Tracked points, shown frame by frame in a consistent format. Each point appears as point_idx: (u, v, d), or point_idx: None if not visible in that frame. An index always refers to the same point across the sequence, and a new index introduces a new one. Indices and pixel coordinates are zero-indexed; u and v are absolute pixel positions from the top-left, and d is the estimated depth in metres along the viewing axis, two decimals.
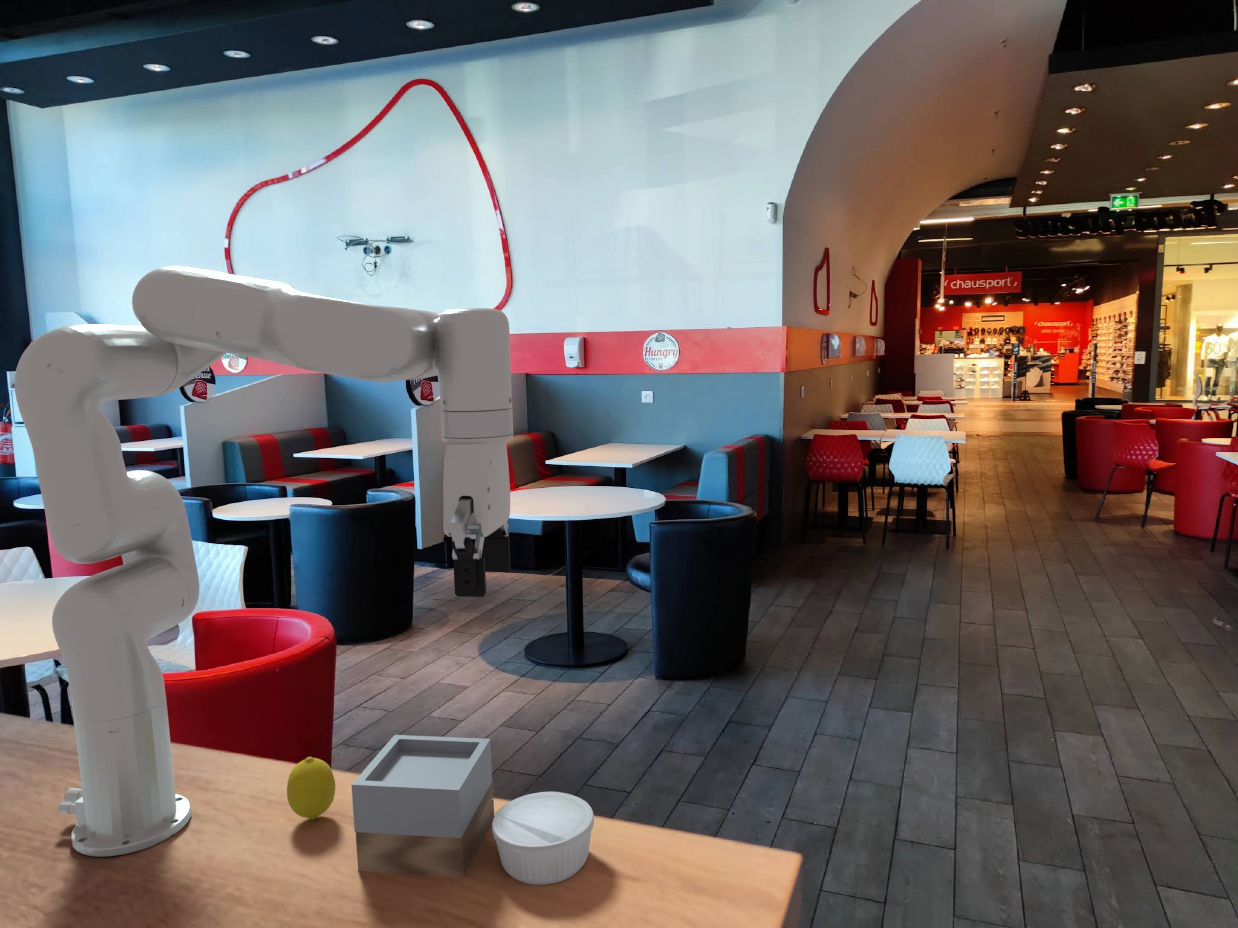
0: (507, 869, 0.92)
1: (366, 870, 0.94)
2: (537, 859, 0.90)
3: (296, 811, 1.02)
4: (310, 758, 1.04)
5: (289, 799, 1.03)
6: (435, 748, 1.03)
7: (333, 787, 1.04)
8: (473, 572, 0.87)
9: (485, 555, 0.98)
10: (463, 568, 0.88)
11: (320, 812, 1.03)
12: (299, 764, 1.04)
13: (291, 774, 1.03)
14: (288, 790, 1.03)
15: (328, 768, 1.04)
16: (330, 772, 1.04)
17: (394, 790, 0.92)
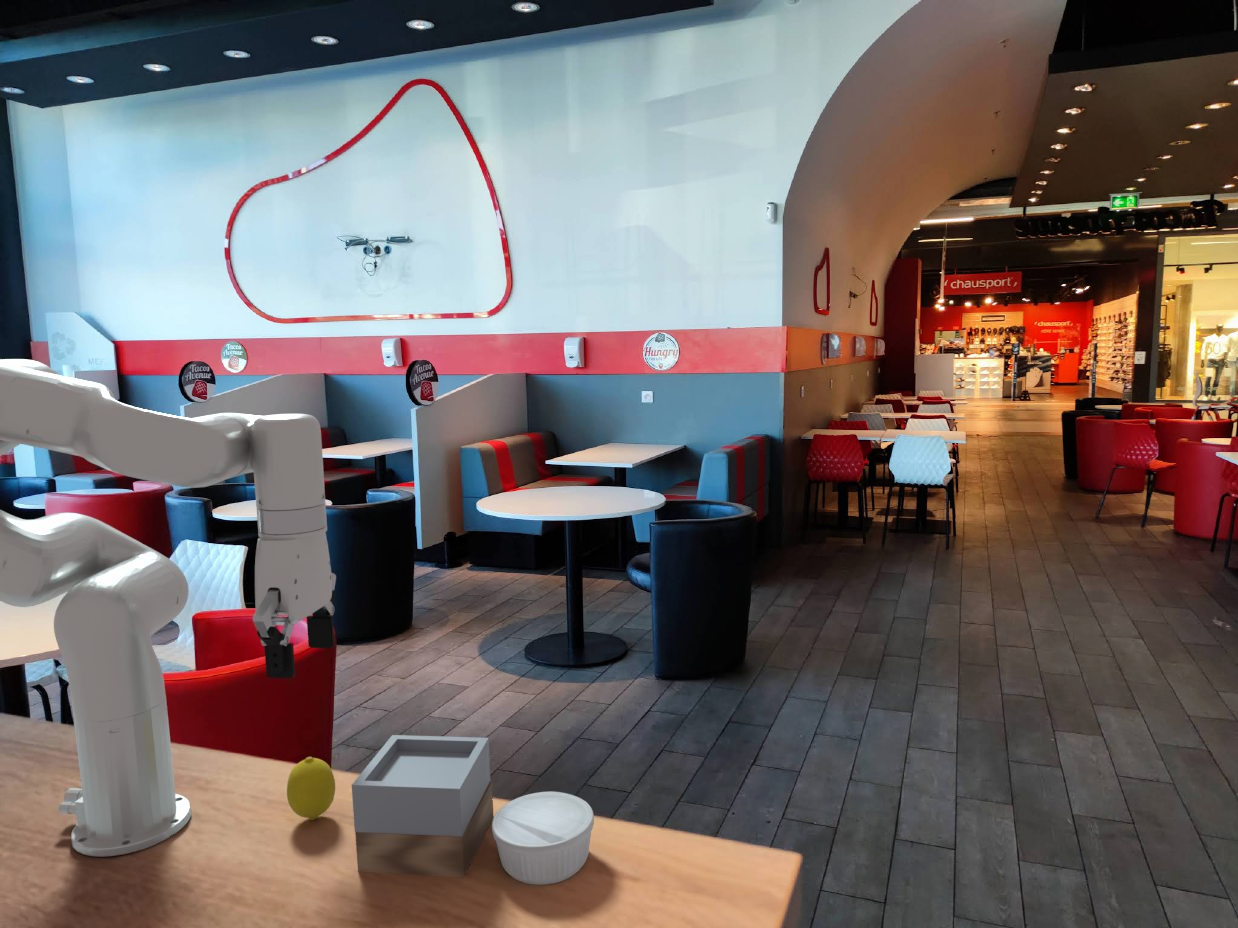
0: (507, 869, 0.92)
1: (366, 871, 0.94)
2: (537, 860, 0.90)
3: (296, 811, 1.02)
4: (310, 758, 1.04)
5: (289, 799, 1.03)
6: (433, 748, 1.03)
7: (333, 787, 1.04)
8: (281, 656, 0.96)
9: (311, 633, 1.06)
10: (272, 653, 0.96)
11: (320, 812, 1.03)
12: (299, 764, 1.04)
13: (291, 774, 1.03)
14: (288, 790, 1.03)
15: (328, 768, 1.04)
16: (330, 772, 1.04)
17: (394, 790, 0.93)
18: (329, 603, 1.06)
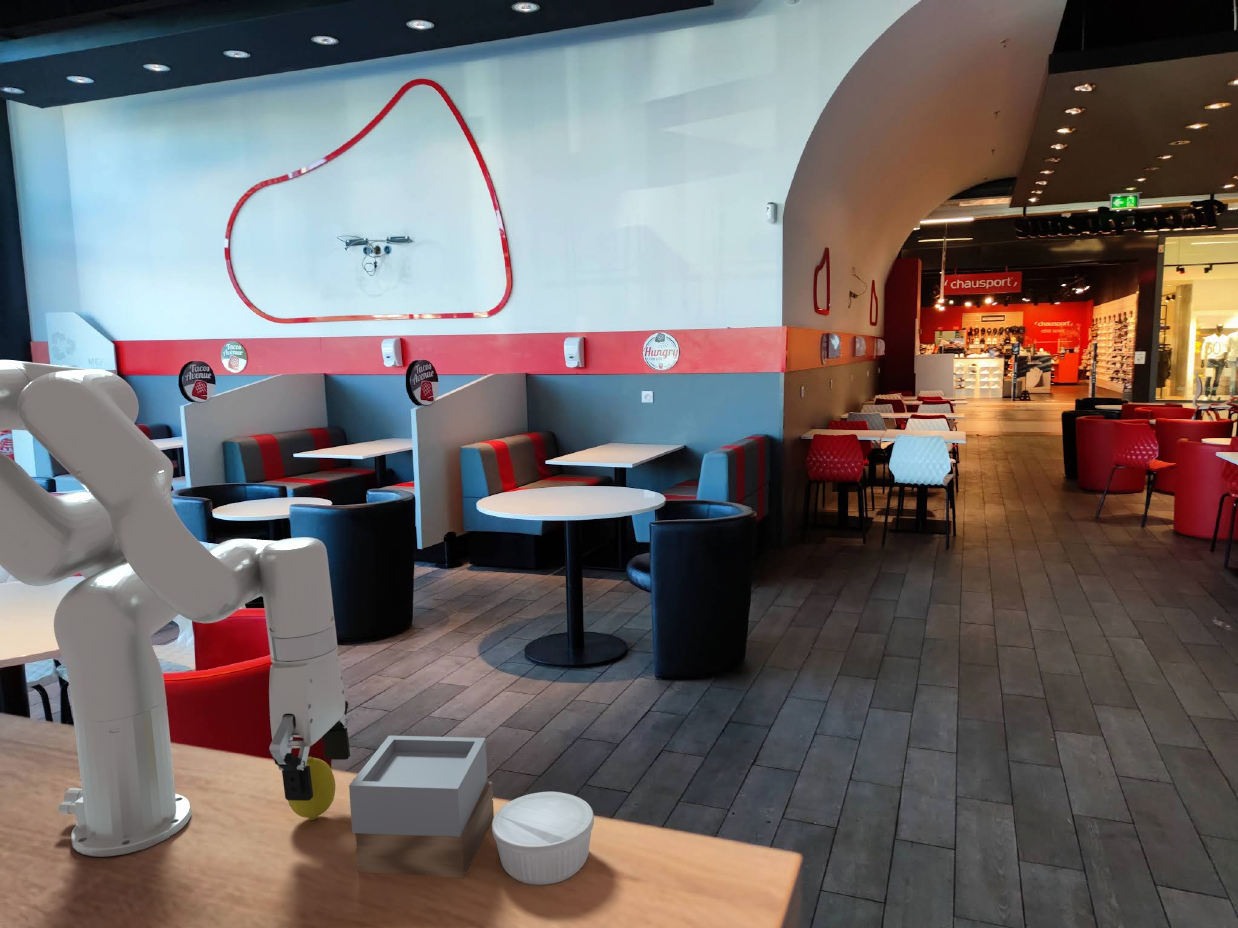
0: (507, 869, 0.92)
1: (366, 871, 0.94)
2: (537, 859, 0.90)
3: (296, 811, 1.02)
4: (310, 758, 1.04)
5: None
6: (430, 748, 1.03)
7: (333, 787, 1.04)
8: (298, 780, 0.98)
9: (326, 745, 1.09)
10: (289, 777, 0.98)
11: (320, 812, 1.03)
12: None
13: None
14: None
15: (328, 768, 1.04)
16: (330, 772, 1.04)
17: (392, 790, 0.92)
18: (343, 715, 1.08)
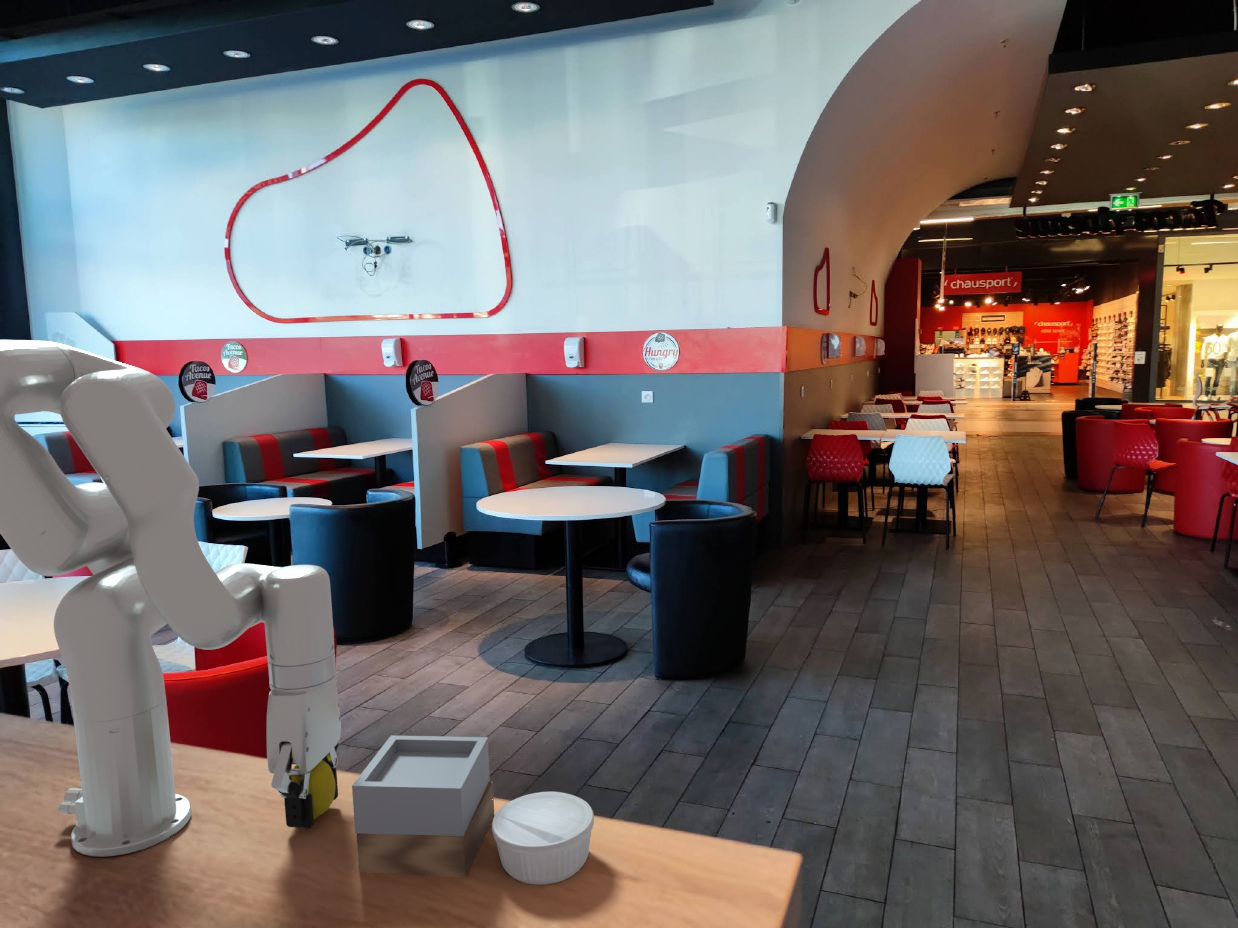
0: (507, 869, 0.92)
1: (367, 871, 0.94)
2: (537, 859, 0.90)
3: None
4: None
5: None
6: (432, 748, 1.03)
7: (333, 787, 1.04)
8: (300, 808, 1.00)
9: None
10: (291, 805, 1.00)
11: (320, 812, 1.03)
12: None
13: None
14: None
15: (328, 768, 1.04)
16: (330, 772, 1.04)
17: (395, 790, 0.92)
18: (332, 755, 1.07)
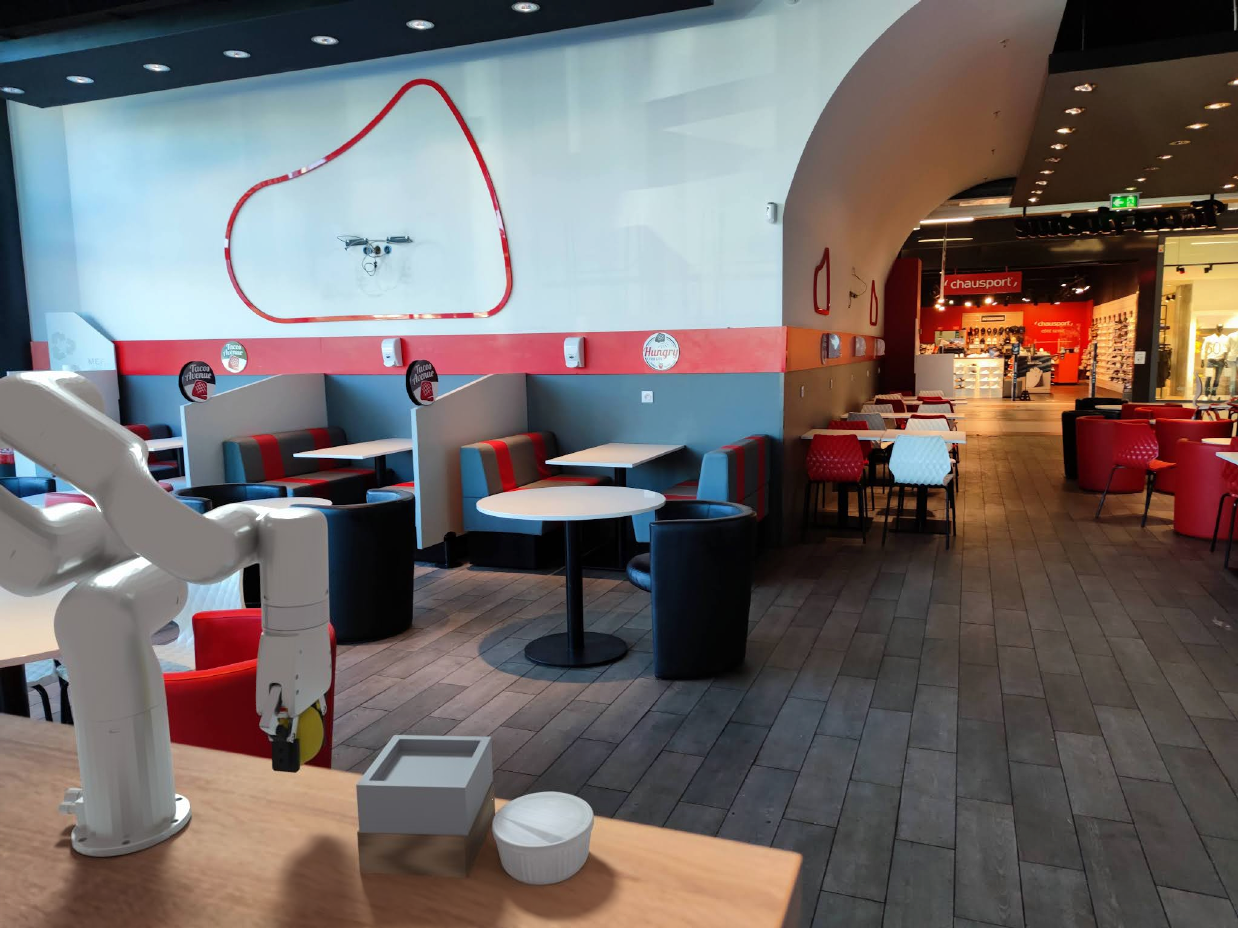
0: (507, 869, 0.92)
1: (368, 871, 0.94)
2: (537, 859, 0.90)
3: None
4: None
5: None
6: (436, 747, 1.03)
7: (321, 734, 1.03)
8: (287, 752, 0.99)
9: None
10: (278, 748, 0.99)
11: (307, 758, 1.02)
12: None
13: None
14: None
15: (317, 715, 1.03)
16: (319, 719, 1.03)
17: (400, 789, 0.92)
18: (321, 703, 1.06)
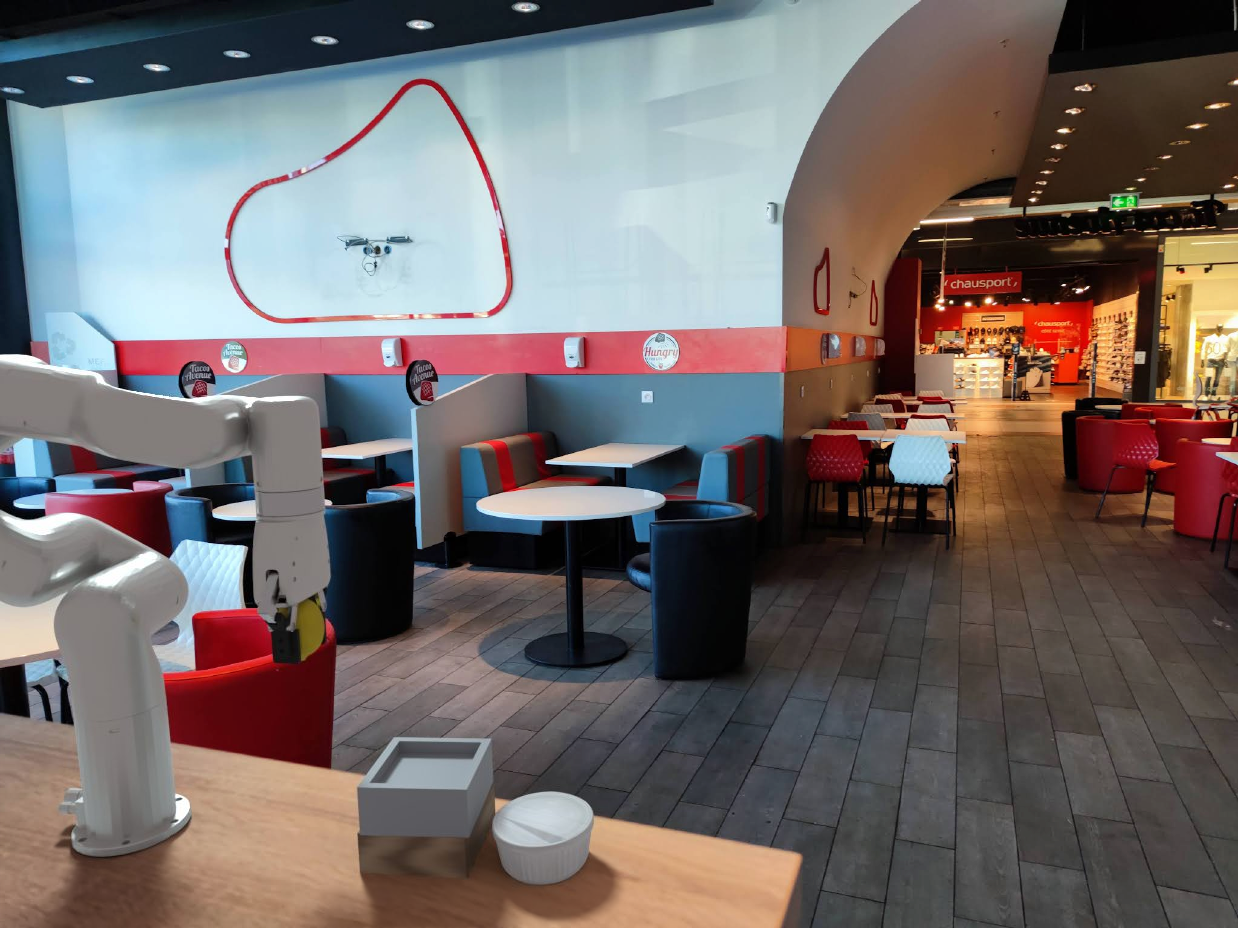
0: (507, 869, 0.92)
1: (368, 872, 0.94)
2: (537, 860, 0.90)
3: None
4: None
5: None
6: (436, 749, 1.03)
7: (322, 627, 1.02)
8: (287, 642, 0.98)
9: None
10: (278, 639, 0.98)
11: (308, 651, 1.00)
12: None
13: (279, 611, 1.00)
14: None
15: (317, 608, 1.02)
16: (319, 612, 1.02)
17: (401, 791, 0.92)
18: (321, 599, 1.04)
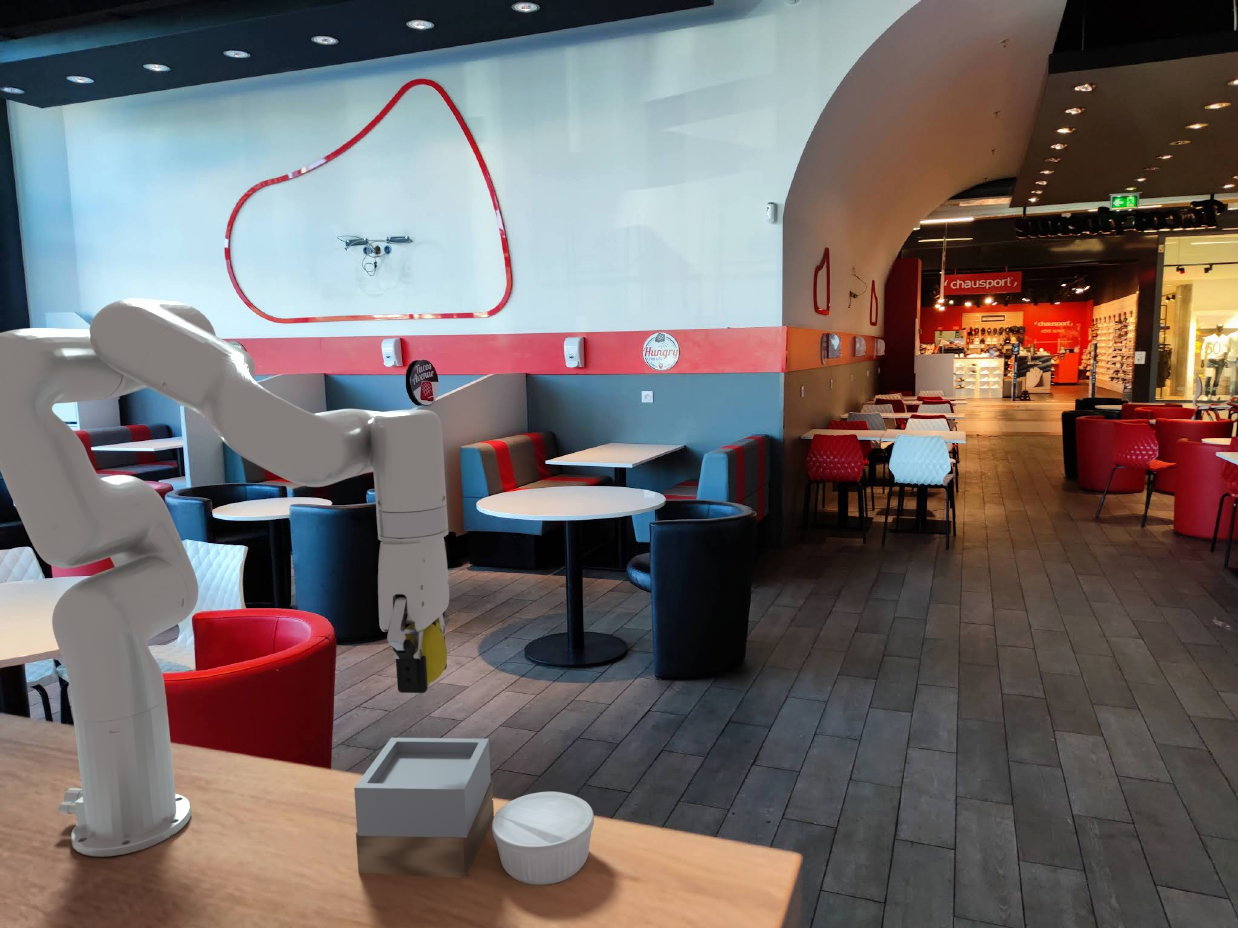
0: (507, 869, 0.92)
1: (366, 872, 0.94)
2: (537, 859, 0.90)
3: None
4: None
5: None
6: (433, 750, 1.03)
7: (446, 652, 0.96)
8: (414, 670, 0.92)
9: None
10: (405, 667, 0.92)
11: (433, 678, 0.95)
12: (409, 626, 0.95)
13: None
14: None
15: (440, 632, 0.96)
16: (442, 636, 0.96)
17: (398, 792, 0.92)
18: (441, 622, 0.99)
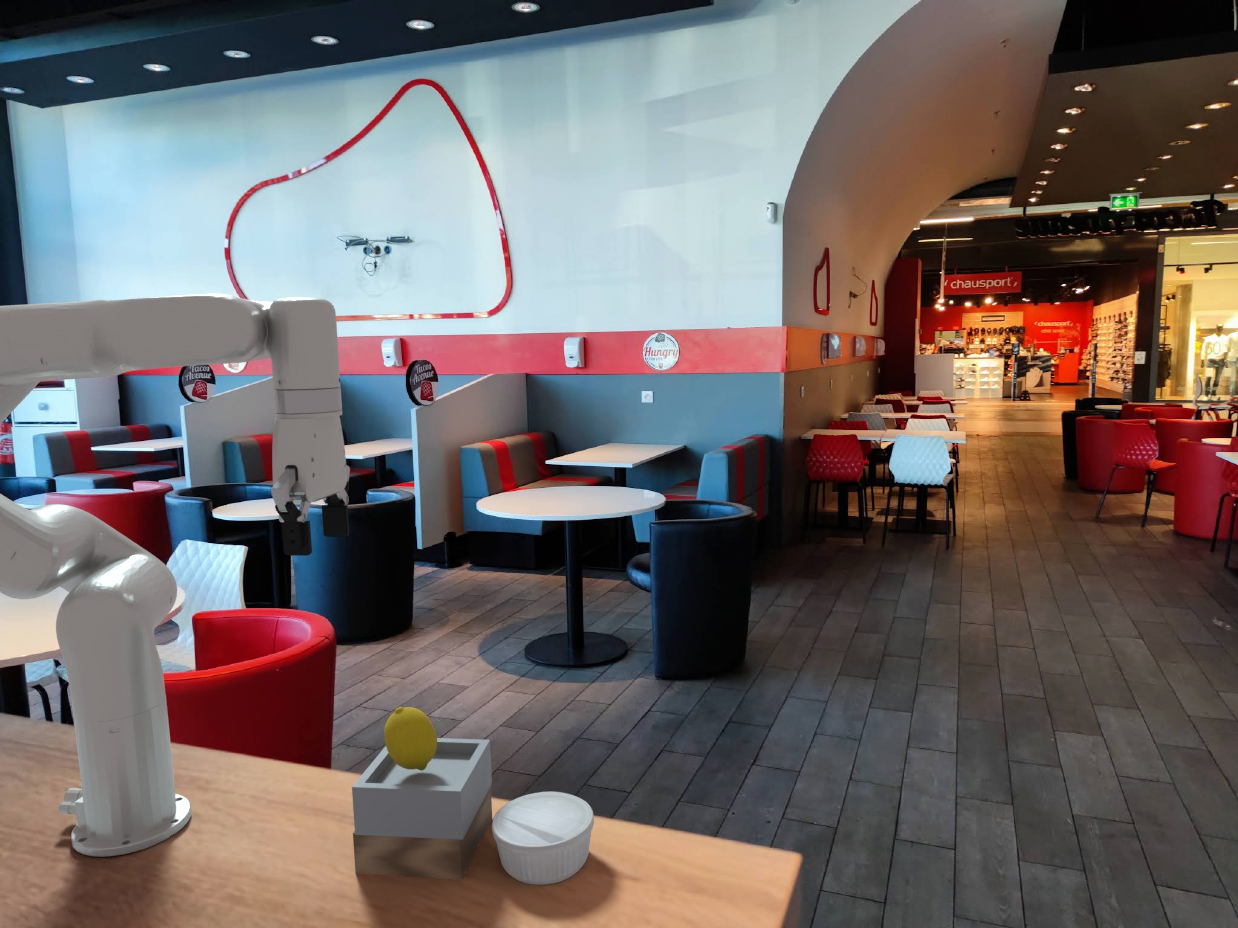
0: (507, 869, 0.92)
1: (363, 872, 0.94)
2: (537, 860, 0.90)
3: (405, 764, 0.95)
4: (400, 708, 0.96)
5: (394, 755, 0.95)
6: None
7: (433, 729, 0.97)
8: (298, 533, 0.98)
9: (325, 521, 1.08)
10: (289, 530, 0.98)
11: (430, 757, 0.96)
12: (391, 717, 0.96)
13: (386, 730, 0.96)
14: (389, 747, 0.95)
15: (421, 712, 0.97)
16: (425, 715, 0.97)
17: (395, 792, 0.92)
18: (344, 492, 1.08)
